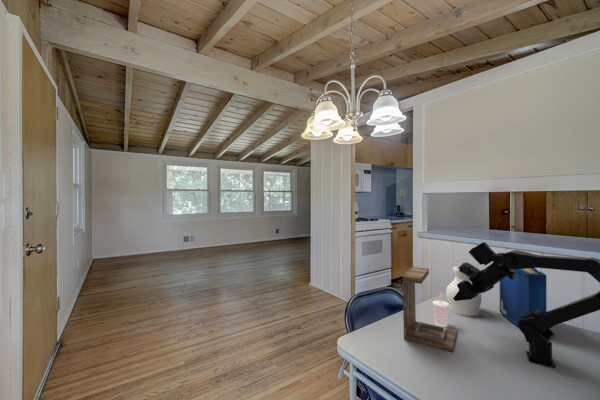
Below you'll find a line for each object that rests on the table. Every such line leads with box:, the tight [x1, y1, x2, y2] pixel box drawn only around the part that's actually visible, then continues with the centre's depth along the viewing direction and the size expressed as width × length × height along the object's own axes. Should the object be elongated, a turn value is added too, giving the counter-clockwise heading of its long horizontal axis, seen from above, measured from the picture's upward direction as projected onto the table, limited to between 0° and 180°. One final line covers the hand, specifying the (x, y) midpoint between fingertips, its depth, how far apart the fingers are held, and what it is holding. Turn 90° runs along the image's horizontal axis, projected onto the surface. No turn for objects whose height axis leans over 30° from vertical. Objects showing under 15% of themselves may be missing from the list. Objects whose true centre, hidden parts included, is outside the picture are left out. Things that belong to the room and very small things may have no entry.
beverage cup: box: [432, 290, 449, 328], centre depth 113 cm, size 6×6×14 cm
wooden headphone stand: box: [402, 266, 457, 353], centre depth 103 cm, size 16×16×24 cm
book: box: [499, 268, 547, 327], centre depth 111 cm, size 22×7×25 cm, turn 168°
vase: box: [445, 265, 483, 317], centre depth 126 cm, size 14×14×20 cm
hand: (459, 297), depth 107 cm, fingers open, 9 cm apart
